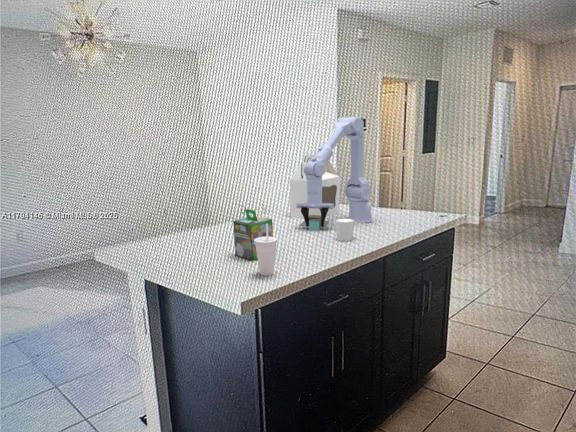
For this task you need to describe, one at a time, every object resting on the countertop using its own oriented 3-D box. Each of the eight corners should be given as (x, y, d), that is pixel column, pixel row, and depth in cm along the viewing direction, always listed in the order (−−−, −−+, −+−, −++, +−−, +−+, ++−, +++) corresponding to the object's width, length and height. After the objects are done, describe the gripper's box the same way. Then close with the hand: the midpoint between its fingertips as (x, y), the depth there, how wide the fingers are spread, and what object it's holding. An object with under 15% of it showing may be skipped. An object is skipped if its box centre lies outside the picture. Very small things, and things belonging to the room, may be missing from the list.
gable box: (314, 221, 176) (314, 156, 171) (290, 218, 184) (288, 155, 179) (339, 212, 194) (340, 153, 188) (316, 210, 202) (315, 153, 196)
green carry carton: (274, 254, 129) (273, 208, 126) (252, 261, 123) (250, 213, 120) (256, 249, 136) (254, 205, 133) (234, 255, 129) (231, 209, 127)
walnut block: (321, 222, 172) (321, 215, 171) (319, 224, 167) (319, 217, 167) (309, 221, 173) (309, 215, 173) (307, 224, 168) (307, 217, 168)
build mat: (329, 221, 174) (329, 221, 174) (325, 227, 164) (325, 226, 164) (304, 221, 177) (304, 220, 177) (298, 226, 166) (298, 225, 166)
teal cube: (320, 229, 162) (320, 219, 161) (319, 231, 158) (319, 221, 157) (310, 229, 163) (310, 219, 162) (309, 231, 159) (308, 221, 158)
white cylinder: (331, 238, 147) (331, 219, 146) (346, 235, 150) (347, 217, 149) (342, 242, 141) (342, 223, 140) (358, 240, 144) (358, 220, 143)
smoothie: (272, 278, 108) (271, 227, 105) (251, 275, 110) (249, 225, 107) (281, 270, 114) (280, 221, 111) (261, 268, 116) (259, 220, 113)
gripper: (294, 193, 155) (294, 228, 158) (331, 194, 152) (331, 229, 154) (298, 190, 162) (298, 224, 165) (334, 191, 158) (334, 225, 161)
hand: (314, 226), depth 160 cm, fingers open, 5 cm apart
